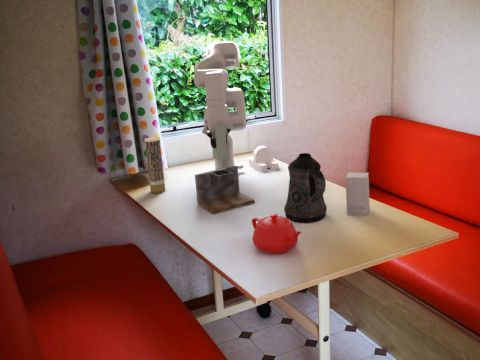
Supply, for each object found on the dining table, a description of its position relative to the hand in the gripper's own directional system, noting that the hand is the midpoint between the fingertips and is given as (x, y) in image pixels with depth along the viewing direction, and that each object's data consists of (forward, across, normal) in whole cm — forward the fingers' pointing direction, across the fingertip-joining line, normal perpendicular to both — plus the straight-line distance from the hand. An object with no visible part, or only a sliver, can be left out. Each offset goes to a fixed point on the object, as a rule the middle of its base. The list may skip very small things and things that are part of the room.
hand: (219, 146), depth 230 cm
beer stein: (+25, -18, +36) cm, 47 cm away
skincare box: (+25, -35, +45) cm, 62 cm away
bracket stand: (+25, 0, +2) cm, 25 cm away
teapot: (+25, +8, +52) cm, 58 cm away
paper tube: (+25, +16, -34) cm, 45 cm away
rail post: (+5, 0, 0) cm, 5 cm away
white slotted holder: (+26, -42, -34) cm, 60 cm away
